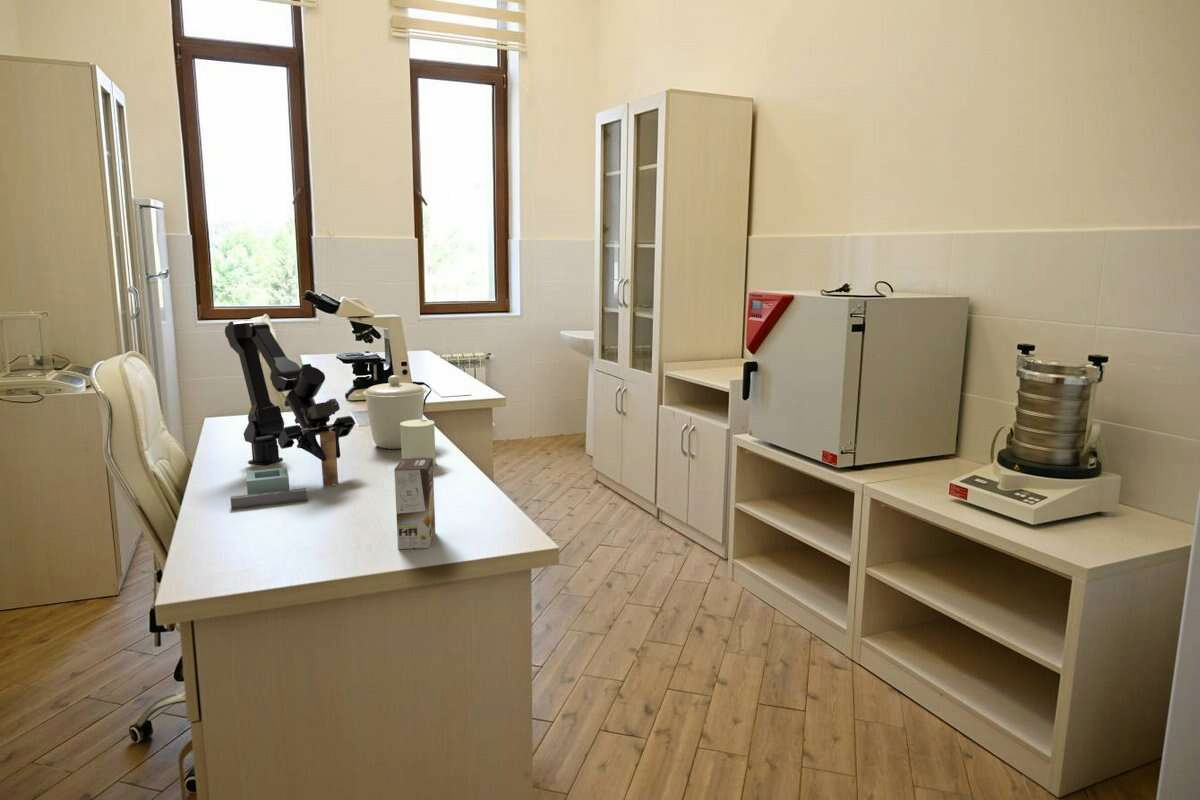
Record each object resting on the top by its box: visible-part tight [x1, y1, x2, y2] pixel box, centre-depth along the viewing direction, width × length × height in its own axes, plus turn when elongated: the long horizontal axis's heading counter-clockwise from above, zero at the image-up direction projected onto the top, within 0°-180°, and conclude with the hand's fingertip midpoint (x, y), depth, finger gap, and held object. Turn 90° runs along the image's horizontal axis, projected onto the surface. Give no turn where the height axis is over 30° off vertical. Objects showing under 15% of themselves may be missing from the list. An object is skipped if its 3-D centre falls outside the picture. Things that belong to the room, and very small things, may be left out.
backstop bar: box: [230, 487, 308, 510], centre depth 182 cm, size 2×16×2 cm, turn 114°
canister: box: [362, 374, 427, 450], centre depth 236 cm, size 18×18×21 cm
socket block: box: [246, 467, 291, 495], centre depth 189 cm, size 9×9×5 cm
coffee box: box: [393, 458, 436, 550], centre depth 158 cm, size 9×6×16 cm
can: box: [400, 418, 437, 467], centre depth 215 cm, size 9×9×12 cm
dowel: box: [319, 431, 339, 486], centre depth 197 cm, size 4×4×13 cm
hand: (332, 458), depth 196 cm, fingers closed on dowel, 4 cm apart
